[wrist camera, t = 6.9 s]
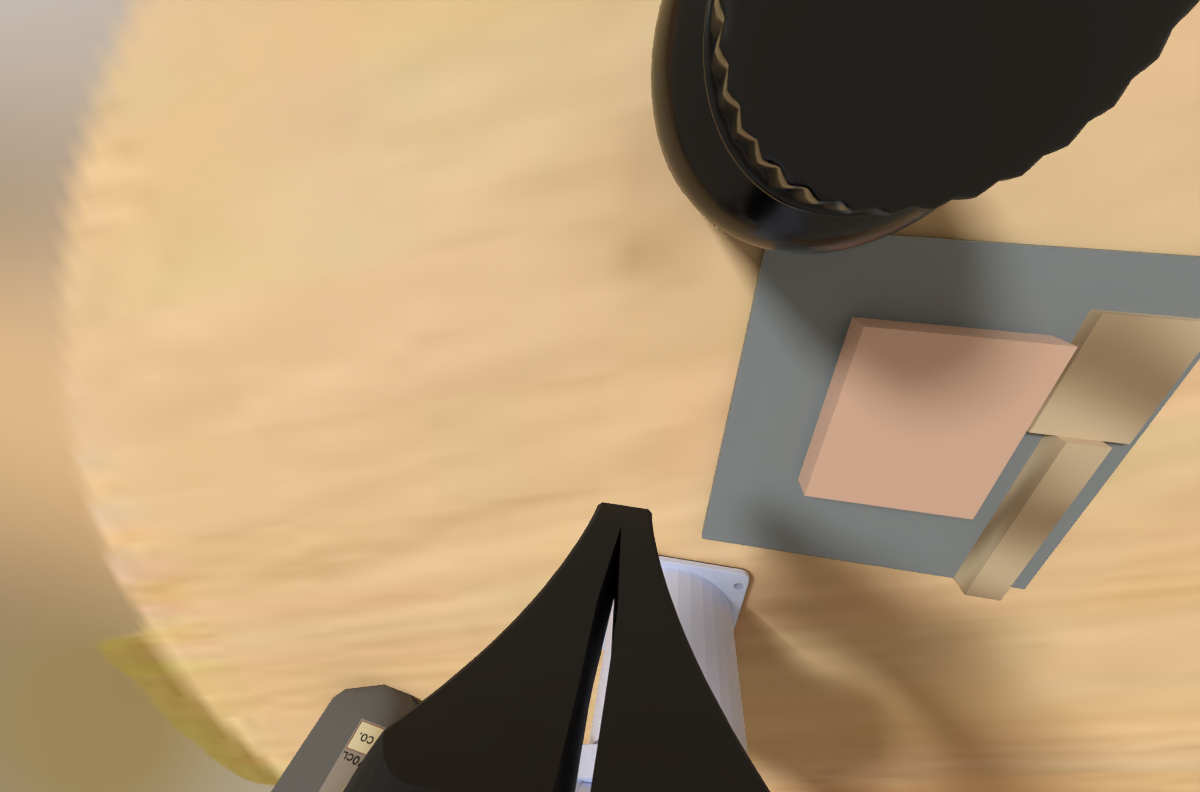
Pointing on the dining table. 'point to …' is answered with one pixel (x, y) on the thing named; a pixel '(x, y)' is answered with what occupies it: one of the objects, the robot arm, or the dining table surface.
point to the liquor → (343, 738)
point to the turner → (1080, 433)
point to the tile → (927, 414)
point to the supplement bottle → (879, 103)
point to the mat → (919, 295)
